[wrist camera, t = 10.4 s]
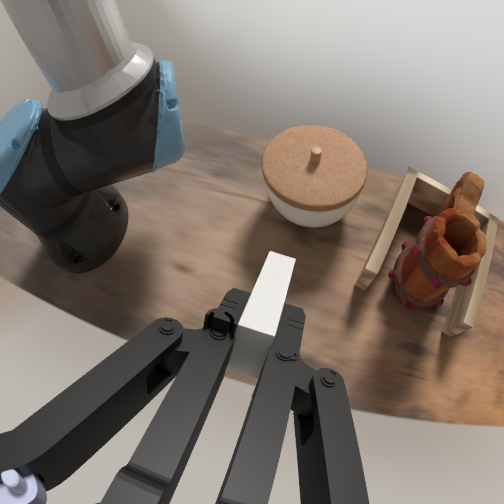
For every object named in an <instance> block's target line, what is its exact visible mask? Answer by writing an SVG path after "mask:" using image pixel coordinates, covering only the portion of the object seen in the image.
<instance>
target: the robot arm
mask: <svg viewBox="0 0 504 504" xmlns="http://www.w3.org/2000/svg"><path fill="white" fill-rule="evenodd" d="M1 2H2V3H3V5H4V7H5V9H6V11H7V13H8V15H9V17H10V18H11V20H12V22H13V24H14V25H15V27H16V29H17V31H18V33H19V35H20V36H21V38H22V40H23V42H24V43H25V45H26V47H27V48H28V50H29V52H30V54H31V55H32V57H33V59H34V60H35V62H36V64H37V65H38V67H39V68H40V70H41V72H42V73H43V75H44V77H45V78H46V80H47V81H48V83H49V85H50V86H51V88H52V89H51V92H50V95H49V98H48V102H47V108H46V109H43V107H42V104H41V103H40V102H38V101H37V100H35V99H27V100H25V101H23V102H21V103H20V104H18V105H16V106H15V107H14V108H12V109H11V110H10V111H9V112H8V113H7V114H6V115H5V116H4V117H3V118H2V119H1V120H0V206H1V207H2V208H4V209H5V210H6V211H7V212H9V213H10V214H11V215H12V216H13V217H15V218H16V219H17V220H18V221H20V222H21V223H22V224H24V225H25V226H26V227H27V228H29V229H30V230H31V231H33V232H34V233H35V234H36V235H37V236H38V238H39V240H40V242H41V244H42V245H43V247H44V249H45V251H46V252H47V254H48V256H49V257H50V259H51V260H52V261H53V262H54V263H55V264H57V265H58V266H60V267H61V268H63V269H64V270H66V271H69V272H74V273H80V272H86V271H89V270H92V269H94V268H96V267H98V266H99V265H101V264H102V263H103V262H105V261H106V260H107V259H108V258H109V257H110V256H111V255H112V254H113V253H114V252H115V250H116V249H117V247H118V246H119V244H120V243H121V241H122V239H123V237H124V234H125V232H126V228H127V224H128V209H127V205H126V202H125V200H124V199H123V197H122V196H121V195H120V193H119V192H118V191H117V190H116V189H115V188H114V187H113V186H112V185H111V184H114V183H117V182H120V181H124V180H127V179H130V178H133V177H136V176H140V175H143V174H146V173H150V172H155V171H156V169H159V168H162V167H164V166H167V165H170V164H172V163H175V162H177V161H178V160H179V159H180V158H181V157H182V156H183V154H184V151H185V142H184V135H183V129H182V122H181V115H180V109H179V103H178V96H177V89H176V83H175V76H174V69H173V64H172V62H171V61H161V60H160V61H159V62H157V63H156V62H155V59H154V56H153V53H152V52H151V50H150V48H148V47H147V46H145V45H142V44H138V43H134V42H131V41H130V38H129V36H128V33H127V30H126V28H125V25H124V22H123V20H122V17H121V15H120V12H119V9H118V7H117V4H116V1H115V0H1ZM295 260H296V259H294V258H291V257H288V256H285V255H281V254H278V253H275V252H272V251H270V252H269V254H268V257H267V259H266V261H265V264H264V266H263V268H262V271H261V273H260V275H259V277H258V280H257V282H256V284H255V287H254V289H253V291H252V294H251V293H248V292H245V291H242V290H239V289H236V288H233V289H231V290H230V291H228V292H227V293H226V295H225V296H224V298H223V300H222V302H221V304H220V306H219V307H218V308H215V309H212V310H209V311H208V312H207V313H206V315H205V321H204V327H203V328H202V329H197V330H191V329H183V327H182V325H181V323H180V322H178V321H177V320H175V319H173V318H167V317H165V318H159V319H157V320H155V321H154V322H153V323H151V324H150V325H149V326H147V327H146V328H145V329H143V330H142V331H141V332H140V333H138V334H137V335H136V336H134V337H133V338H132V339H130V340H129V341H128V342H126V343H125V344H124V345H123V346H121V347H120V348H119V349H117V350H116V351H115V352H113V353H112V354H111V355H110V356H108V357H107V358H106V359H104V360H103V361H102V362H100V363H99V364H98V365H96V366H95V367H94V368H93V369H91V370H90V371H89V372H87V373H86V374H85V375H83V376H82V377H81V378H80V379H78V380H77V381H76V382H74V383H73V384H72V385H70V386H69V387H68V388H67V389H65V390H64V391H63V392H61V393H60V394H59V395H58V396H56V397H55V398H54V399H52V400H51V401H50V402H48V403H47V404H46V405H45V406H43V407H42V408H41V409H39V410H38V411H37V412H35V413H34V414H33V415H32V416H30V417H29V418H28V419H26V420H25V421H24V422H23V423H21V424H20V425H19V426H17V427H16V428H15V429H13V430H12V431H8V432H5V433H1V434H0V504H46V501H47V494H46V491H49V490H51V489H52V488H54V487H56V486H58V485H59V484H61V483H62V482H63V481H65V480H66V479H67V478H68V477H70V476H71V475H72V474H73V473H74V472H75V471H76V470H78V469H79V468H80V467H81V466H82V465H83V464H84V463H85V462H86V461H87V460H88V459H90V458H91V457H92V456H93V455H94V454H95V453H96V452H97V451H98V450H99V449H100V448H102V446H104V445H105V444H106V443H107V442H108V441H109V440H110V439H111V438H112V437H113V436H114V435H115V434H116V433H117V432H119V431H120V430H121V429H122V428H123V427H124V426H125V425H126V424H127V423H128V422H129V421H130V420H131V419H132V418H133V417H134V416H136V415H137V414H138V413H139V412H140V411H141V410H142V409H143V408H144V407H145V406H146V405H147V404H148V403H149V402H150V401H151V400H152V399H153V398H154V397H155V396H156V395H157V394H158V393H159V392H160V391H161V390H162V389H164V387H166V386H167V384H168V383H170V382H171V381H172V380H173V379H174V378H175V377H176V378H175V380H174V382H173V384H172V385H171V387H170V389H169V391H168V392H167V394H166V396H165V398H164V400H163V401H162V403H161V405H160V407H159V409H158V410H157V412H156V414H155V416H154V418H153V419H152V421H151V423H150V425H149V427H148V428H147V430H146V432H145V434H144V436H143V437H142V439H141V441H140V443H139V445H138V446H137V448H136V450H135V452H134V454H133V456H132V457H131V459H130V461H129V463H128V464H127V465H126V466H124V467H123V468H121V469H120V470H119V472H118V473H117V474H116V476H115V478H114V480H113V481H112V483H111V485H110V487H109V488H108V490H107V492H106V494H105V496H104V498H103V499H102V501H101V503H97V504H169V503H170V501H171V499H172V496H173V494H174V491H175V490H176V487H177V485H178V483H179V480H180V478H181V476H182V474H183V471H184V469H185V467H186V465H187V462H188V459H189V458H190V455H191V453H192V450H193V448H194V446H195V444H196V441H197V439H198V437H199V434H200V432H201V430H202V427H203V425H204V422H205V420H206V418H207V416H208V413H209V411H210V408H211V406H212V404H213V401H214V399H215V397H216V394H217V392H218V389H219V387H220V385H221V382H222V380H223V378H224V374H225V370H226V368H228V369H231V370H234V371H237V372H240V373H243V374H246V375H249V376H252V377H256V378H259V379H258V382H257V384H256V387H255V389H254V392H253V395H252V400H251V403H250V406H249V409H248V411H247V415H246V418H245V421H244V424H243V427H242V430H241V432H240V435H239V438H238V441H237V444H236V447H235V450H234V453H233V456H232V459H231V462H230V464H229V467H228V470H227V473H226V476H225V479H224V481H223V484H222V487H221V490H220V492H219V495H218V498H217V501H216V503H215V504H268V501H269V497H270V493H271V489H272V485H273V482H274V478H275V474H276V469H277V465H278V461H279V457H280V453H281V449H282V444H283V440H284V436H285V431H286V427H287V422H288V417H289V413H290V409H291V410H292V411H294V413H293V414H294V425H295V437H296V448H297V461H298V472H299V486H300V499H301V504H369V499H368V494H367V488H366V483H365V477H364V472H363V467H362V462H361V457H360V452H359V447H358V442H357V437H356V433H355V428H354V423H353V419H352V414H351V410H350V405H349V401H348V397H347V392H346V388H345V384H344V380H343V378H342V376H341V375H340V374H339V373H338V372H336V371H334V370H333V369H329V368H321V369H319V370H317V371H316V370H314V369H312V368H310V367H309V366H307V365H306V364H305V363H304V362H303V361H302V359H301V357H300V345H301V340H302V334H303V329H304V323H305V317H306V316H305V314H304V311H303V309H301V308H298V307H295V306H292V305H288V304H285V303H284V301H285V298H286V294H287V290H288V287H289V283H290V279H291V275H292V271H293V268H294V264H295Z"/></svg>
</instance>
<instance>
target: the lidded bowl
mask: <svg viewBox="0 0 504 504" xmlns="http://www.w3.org/2000/svg"><path fill="white" fill-rule="evenodd" d="M262 172H263V176H264V181H265V186H266V189H267V193H268V195H269V198H270V200H271V202H272V204H273V205H274V207H275V208H276V209H277V211H278V212H279V213H280V214H281V215H282V216H284V217H285V218H286V219H288V220H289V221H291V222H293V223H295V224H298V225H300V226H305V227H313V228H314V227H323V226H328V225H330V224H333V223H335V222H337V221H338V220H340V219H342V218H343V217H344V216H345V215H346V214H347V213H348V212H349V211H350V210H351V209H352V207H353V206H354V204H355V203H356V201H357V199H358V197H359V195H360V192H361V190H362V189H363V187H364V184H365V181H366V178H367V163H366V159H365V156H364V154H363V152H362V151H361V150H360V148H359V147H358V146H357V144H356V143H355V142H354V141H353V140H351V139H350V138H349V137H348V136H346V135H344V134H343V133H341V132H339V131H337V130H334V129H331V128H328V127H324V126H316V125H304V126H297V127H293V128H290V129H288V130H285V131H283V132H281V133H280V134H278V135H277V136H276V137H275V138H273V139H272V140H271V141H270V142H269V144H268V145H267V147H266V148H265V150H264V153H263V156H262Z"/></svg>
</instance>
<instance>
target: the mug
mask: <svg viewBox="0 0 504 504" xmlns="http://www.w3.org/2000/svg"><path fill="white" fill-rule="evenodd" d="M483 187H484V181H483V180H482V179H481V178H480V177H478V175H475V174H473V173H472V172H467V173H465V174H463V176H462V177H461V178H460V180H459V181H458V182H457V183H456V185H455V186H454V188H453V189H452V191H451V193H450V194H449V196H448V198H447V199H446V201H445V203H444V205H443V207H442V209H441V211H440V213H439V215H438V216H435V217H433V218H432V217H430V216H426V217H425V218H424V226H423V228H422V229H421V231H420V232H419V234H418V236H417V239H416V242H414V243H410V242H408V241H406V242H404V243H403V244H402V249H403V251H402V253H401V254H400V255H399V257H398V258H397V260H396V262H395V265H394V269H393V270H391V271H390V272H389V278H390V279H391V280H392V281H394V284H395V291H396V293H397V295H398V297H399V299H400V300H401V301H402V302H403V303H405V304H406V306H407V308H409V309H412V308H414V307H428V306H431V305H433V304H435V305H437V306H440V305H442V304H443V302H444V299H443V298H444V297H445V295H446V294H447V293H448V291H449V289H450V288H452V287H456V286H459V285H463V286H469V285H470V284H471V282H472V279H471V276H472V275H473V273H474V272H475V270H476V267H477V265H478V264H479V262H480V259H481V258H482V257H483V256H484V255H485V252H486V247H487V246H486V245H487V241H486V236H485V233H484V232H482V231H481V230H480V223H479V221H478V220H477V219H476V217H474V213H475V209H476V206H477V204H478V202H479V199H480V197H481V194H482V191H483Z"/></svg>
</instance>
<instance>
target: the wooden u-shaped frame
mask: <svg viewBox="0 0 504 504" xmlns="http://www.w3.org/2000/svg"><path fill="white" fill-rule="evenodd" d="M451 191H452V190H451V189H449V188H447V187H445V186H443V185H442V184H440V183H438V182H436V181H434V180H433V179H431V178H429V177H427V176H425V175H423V174H421V173H419V172H417V171H416V170H414V169H412V168H410V167H409V168H408V170H407V172H406V175H405V177H404V179H403V181H402V183H401V185H400V187H399V189H398V191H397V194H396V196H395V198H394V201H393V203H392V206H391V208H390V210H389V213H388V215H387V217H386V219H385V222H384V224H383V226H382V229H381V231H380V233H379V235H378V237H377V240H376V242H375V244H374V246H373V248H372V250H371V253H370V255H369V257H368V259H367V261H366V263H365V265H364V267H363V269H362V271H361V273H360V275H359V277H358V279H357V281H356V283H355V286H357V287H359V288H361V289H362V290H364V291H365V290H366V289H367V287H368V286H369V285H370V283H371V282H372V281H373V279H374V278H375V277H376V275H377V274H378V272H379V269H380V267H381V265H382V263H383V261H384V258H385V256H386V254H387V251H388V249H389V247H390V244H391V242H392V240H393V237H394V235H395V233H396V230H397V228H398V225H399V223H400V220H401V218H402V215H403V213H404V210H405V208H406V205H407V203H409V204H411V205H413V206H415V207H416V208H418V209H420V210H422V211H424V212H426V213H427V214H429V215H431V216H433V217H435V216H438V215H439V213H440V211H441V209H442V207H443V205H444V203H445V201H446V199H447V198H448V196H449V194H450V193H451ZM474 217H476V219H477V220H478V221H479V223H480V230H481V231H482V232H484V233H485V236H486V241H487V245H486V246H487V247H486V252H485V255H484V256H483V257H482V258H481V259H480V262H479V264H478V265H477V267H476V270H475V272H474V273H473V275H472V276H471V279H472V282H471V284H470V285H469V286H463V285H459V286H457V289H456V292H455V295H454V298H453V301H452V304H451V307H450V310H449V313H448V316H447V319H446V321H445V324H444V327H443V329H442V333H444V334H445V335H447V336H449V337H451V336H454V335H456V334H459V333H461V332H463V331H466V330H468V329H471V328H473V326H474V322H475V319H476V316H477V313H478V309H479V306H480V302H481V298H482V295H483V291H484V287H485V283H486V279H487V275H488V270H489V266H490V261H491V256H492V251H493V246H494V241H495V235H496V229H497V222H498V218H496V217H495V216H493V215H492V214H490V213H489V212H487V211H486V210H484V209H482V208H481V207H479V206H478V205H477V206H476V209H475V213H474Z"/></svg>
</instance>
